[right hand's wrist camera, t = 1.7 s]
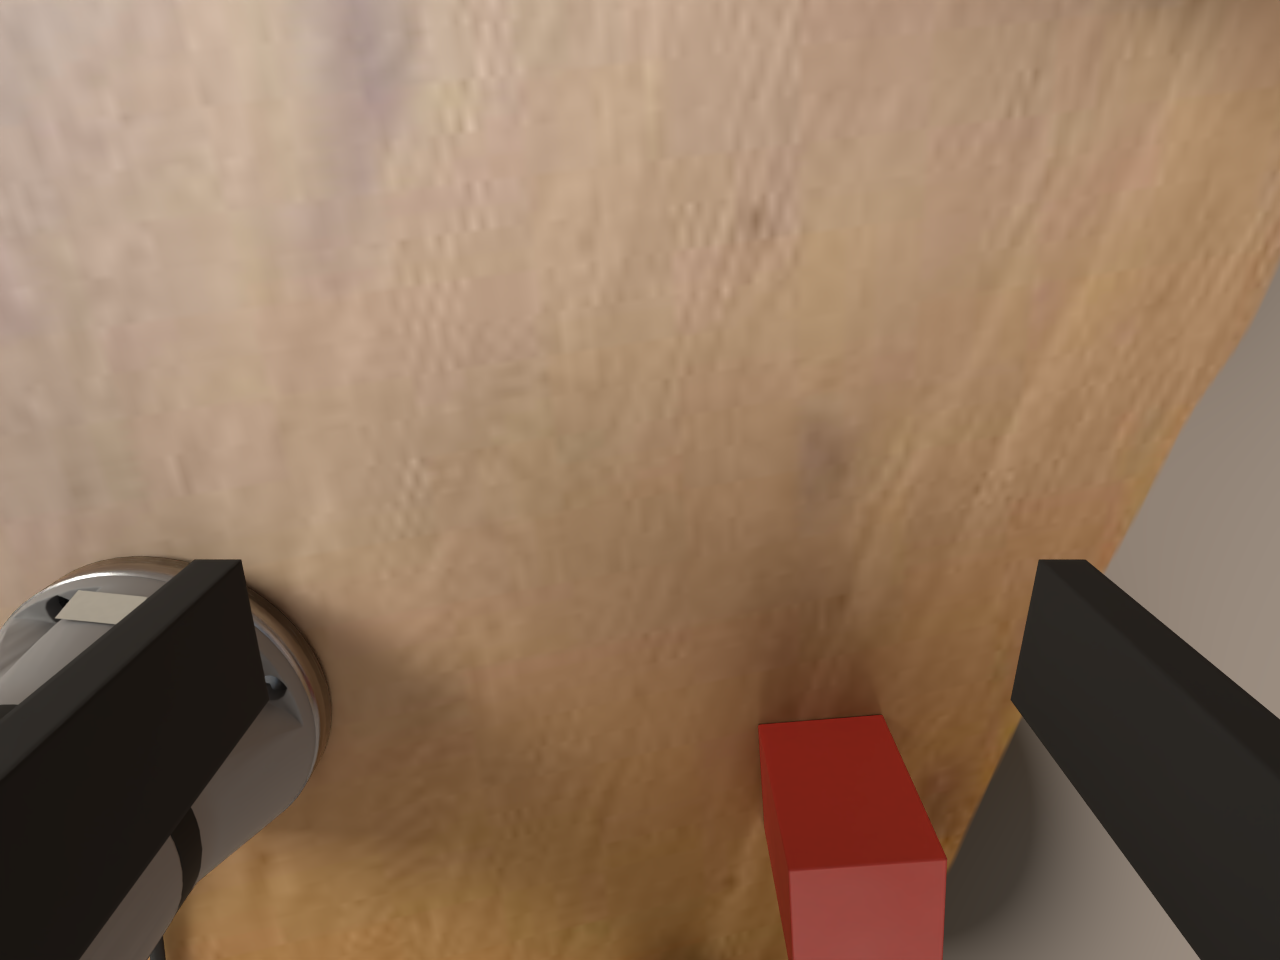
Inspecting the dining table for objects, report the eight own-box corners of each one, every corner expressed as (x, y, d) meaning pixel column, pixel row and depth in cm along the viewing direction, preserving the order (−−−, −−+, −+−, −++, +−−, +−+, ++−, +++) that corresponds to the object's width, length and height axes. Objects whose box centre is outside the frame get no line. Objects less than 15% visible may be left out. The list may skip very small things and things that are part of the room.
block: (882, 713, 38) (947, 859, 30) (882, 819, 41) (942, 981, 32) (757, 723, 38) (788, 870, 30) (764, 828, 41) (794, 990, 33)
